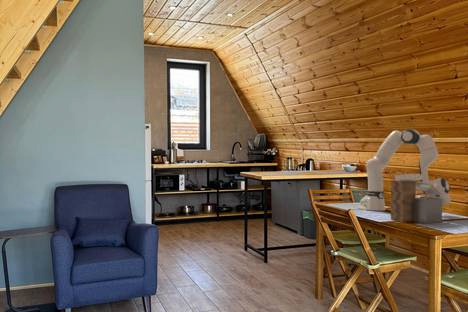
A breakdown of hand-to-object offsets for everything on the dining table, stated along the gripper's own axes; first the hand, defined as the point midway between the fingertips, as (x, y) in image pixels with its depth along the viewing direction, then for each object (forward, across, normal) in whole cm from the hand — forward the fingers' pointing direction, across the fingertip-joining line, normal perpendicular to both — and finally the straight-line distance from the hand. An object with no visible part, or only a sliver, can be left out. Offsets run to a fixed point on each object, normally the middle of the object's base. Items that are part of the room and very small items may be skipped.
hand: (420, 181), depth 292 cm
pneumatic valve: (-38, -25, +7) cm, 46 cm away
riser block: (-7, +12, +24) cm, 28 cm away
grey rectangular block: (+10, 0, +4) cm, 10 cm away
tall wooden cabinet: (+1, 0, +29) cm, 29 cm away
